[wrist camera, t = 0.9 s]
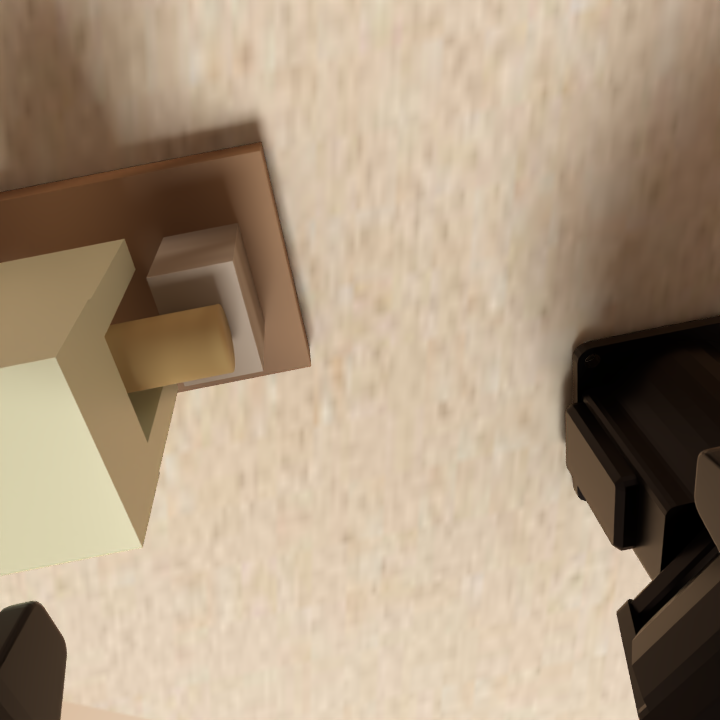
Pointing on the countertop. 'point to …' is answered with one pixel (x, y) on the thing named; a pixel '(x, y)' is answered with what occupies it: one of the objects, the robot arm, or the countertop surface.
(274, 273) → the cable stand
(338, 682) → the countertop surface
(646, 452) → the robot arm
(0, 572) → the cream block
